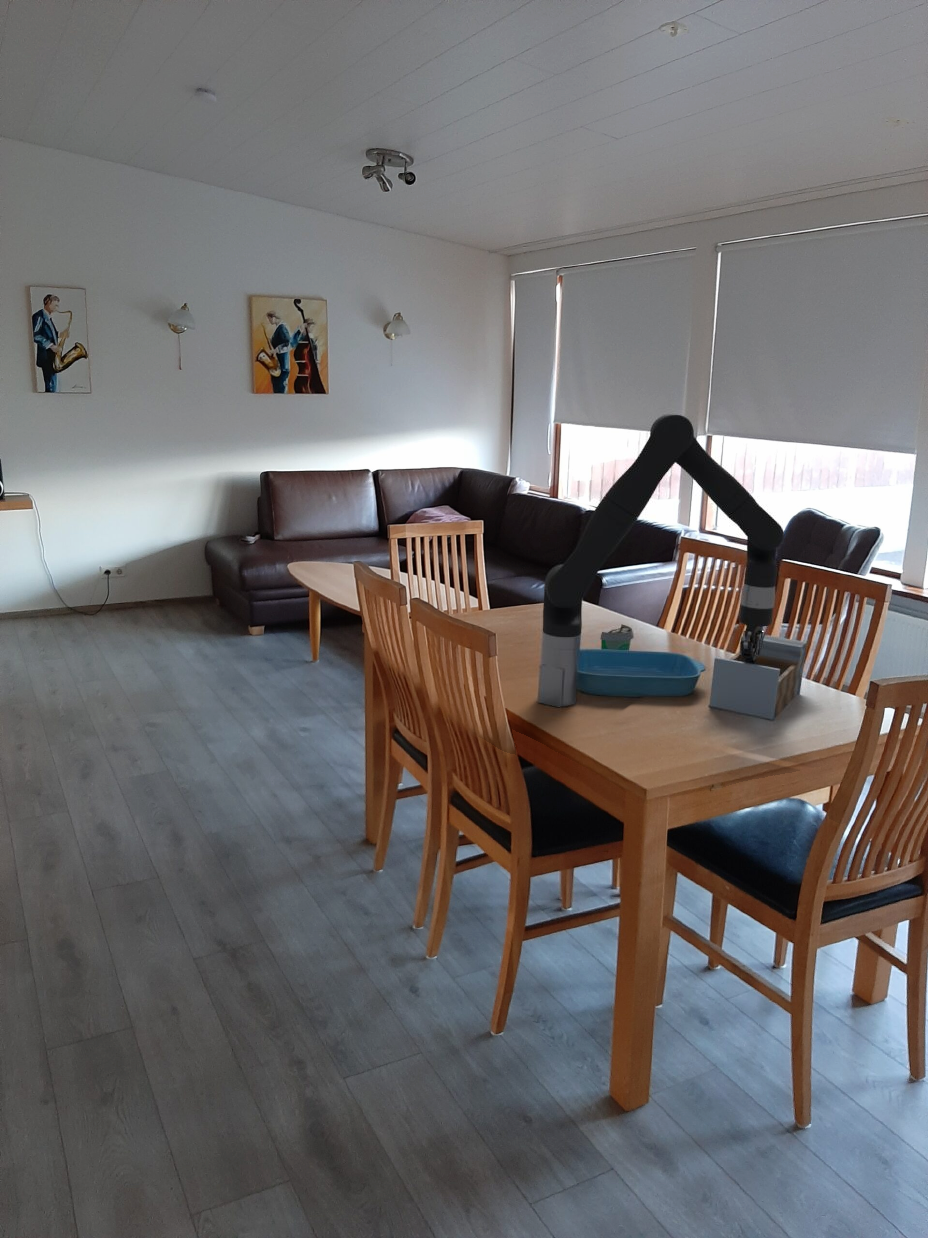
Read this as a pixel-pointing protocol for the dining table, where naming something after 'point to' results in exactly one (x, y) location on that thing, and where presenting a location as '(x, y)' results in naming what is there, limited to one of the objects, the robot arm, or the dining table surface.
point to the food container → (617, 638)
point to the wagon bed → (782, 666)
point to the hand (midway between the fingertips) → (748, 674)
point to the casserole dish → (637, 673)
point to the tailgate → (744, 688)
